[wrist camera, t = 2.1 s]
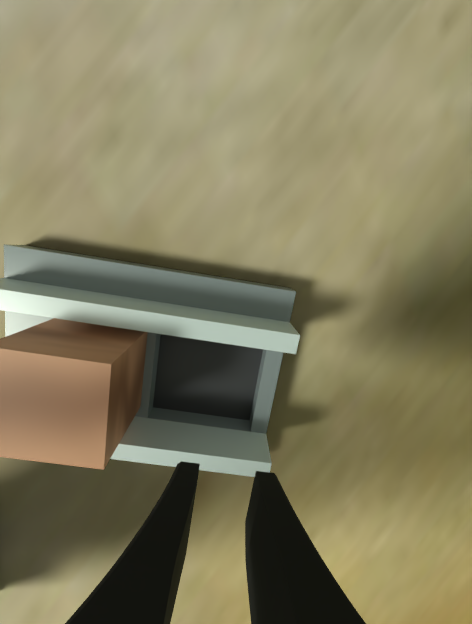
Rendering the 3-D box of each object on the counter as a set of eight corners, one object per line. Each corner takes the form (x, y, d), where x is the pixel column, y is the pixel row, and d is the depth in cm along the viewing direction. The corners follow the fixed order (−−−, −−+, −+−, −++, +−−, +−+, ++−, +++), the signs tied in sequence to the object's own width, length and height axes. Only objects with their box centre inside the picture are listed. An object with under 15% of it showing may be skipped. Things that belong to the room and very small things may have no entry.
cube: (140, 406, 17) (103, 469, 12) (57, 395, 17) (-15, 455, 12) (147, 329, 16) (111, 364, 11) (59, 316, 16) (-18, 345, 11)
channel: (256, 454, 20) (262, 505, 16) (24, 424, 19) (-30, 470, 15) (290, 287, 17) (307, 299, 13) (24, 245, 16) (-41, 243, 12)
